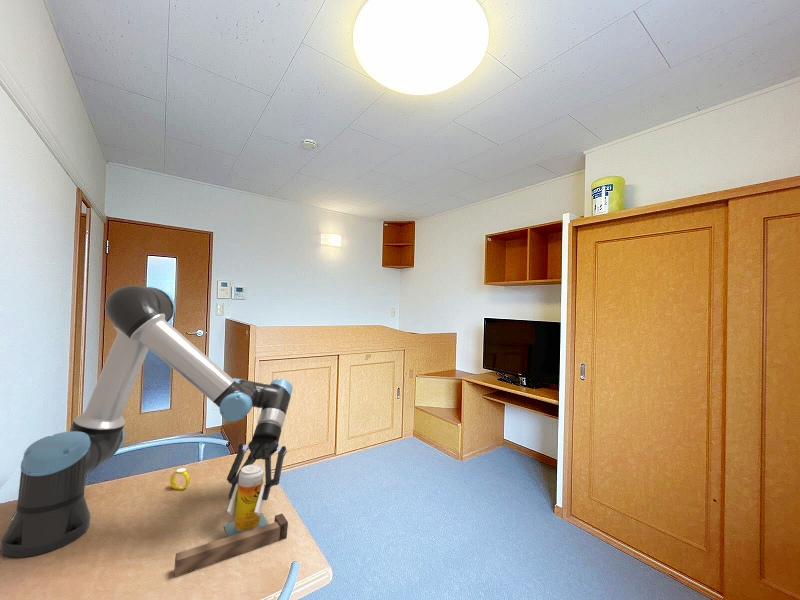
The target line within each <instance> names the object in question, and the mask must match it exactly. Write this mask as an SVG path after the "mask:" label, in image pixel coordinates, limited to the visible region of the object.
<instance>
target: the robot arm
mask: <svg viewBox="0 0 800 600" xmlns="http://www.w3.org/2000/svg"><path fill="white" fill-rule="evenodd" d="M104 311H105V314H106V316H107V318H108V319H109V321H111V323H112V324H113V328H114V329H115V331H116V333H117V334H116V336H115V338H114V340H113V344H112V345H111V348H110V350H109V353H108V355H107V357H106V360H105V362H104V365H103V367H102V370H101V372H100V375H99V377H98V379H97V381H96V384H95V387H94V389H93V391H92V394H91V396H90V398H89V401H88V403H87V405H86V408H85V410H84V412H82V413H81V414H79V415H76V416H75V418H74V419H73V422H72V424H71V427H70V429H69V431H64V432H59V433H54V434H53V435H48V436H45V437H42V438H40V439H37V440H36V441H33V443H31V444H30V445H29V446H28V447H27V448H26V449H25V451H24V453H23V457H22V460H21V462H20V463H21V464H20V476H19V487H18V496H17V506H16V511H15V514H14V516H13V518H12V520H11V522H10V523H9V525H8V528H7V530H6V531H5V533H4V535H3V536H2V540H1V545H0V553H1V554H2V556H5V557H7V558H27V557H33V556H34V557H35V556H38V555H42V554H45V553H48V552H51V551H55V550H56V549H60V548H62V547H64V546H67V545H69V544H70V543H73V542H74V541H75V540H77V539H79V538H80V537H82V536H83V535H84V534H85V533H86V532H87V531H88V529H89V528H90V525H91V512H90V510H89V506H88V504H87V501H86V499H85V489H86V481H87V475H88V474H89V473H91V472H92V471H94V470H95V469H96V468H98V467H100V466H101V465H102V464H103V463H105V462H106V461H108V460H109V459H111V458H112V457H113V456H115V454H116V453H117V452H118V451H119V450H120V448H121V447H122V446H123V443H124V440H125V437H126V436H125V435H126V434H125V433H126V432H125V429H124V427H125V425H126V420H125V418H124V417H123V415H124V414H123V413H124V411H125V408H126V406H127V404H128V401H129V399H130V397H131V394H132V390H133V389H134V387H135V384H136V381H137V378H138V376H139V373H140V371H141V369H142V367H143V364H144V361H145V359H146V356H147V354H148V352H149V350H150V351H151V352H153V353H154V354H155V355H156V356H157V357H159V358H160V359H161V360H162V361H164V362H165V363H166V364H167V365H168V366H169V367H170V368H172V369H173V370H174V371H176V373H178V374H179V375H180V376H181V377H183V378H184V379H185V380H186V381H187V382H188V383H190V384H191V385H192V386H193V387H195V389H197V390H198V391H200V393H202V395H204V396H205V397H207V399H209V400H210V401H211V402H212V403H213V404H215V405H216V406H217V407H218V408H219V414H220V415H221V417H222V419H224V420H226V421H228V422H238V421H240V420H242V419H243V418H245V417H246V416H247V415H248V414H249V413H250V412H251V410H252V408H258V409H261V412H260V414H259V417H258V420H257V425H256V426H255V429H254V432H253V435H252V439H251V440H250V441H249V442H248V444H243V443H241V444H238V447H237V454H236V456H235V458H234V461H233V462H232V466H231V467H230V469H229V472H228V475H227V476H226V480H227V482H228V484H230V485H231V487H230V490H229V493H228V499H229V500H230V501H229V504H228V506H227V507H228V508H227V514H229V515H232V516H233V514H234V512H235V510H236V504H237V492H238V481H239V473H240V471H241V469H242V468H243V467H244V466H247V465H251V464H255V462H256V460H263V461H264V467H265V468H264V474H265V481H264V483H265V484H263V485H262V487H261V490H260V494H259V497H258V501H257V505H256V508H255V512H254V513H255V514H256V515H258V516H259V515H260V514H261V511H262V507H263V505H264V504H263V503H264V501H267V500H268V499H269V495H270V491H271V488H272V487H274V486H278V485H279V484H280V479H281V475H282V467H283V463H284V458H285V456H286V454H287V451H288V449H287V447H286V445H283V446H281V445H279V441H280V438H281V434H282V429H283V427H284V422H285V419H286V415H287V412H288V407H289V406H290V405H289V404H290V401H291V397H292V392H293V386H292V385H293V384H292V383H291V382H290V381H288V380H286V379H284V378H280V379H278V378H276V379H273V380H272V381H271V382H270V383H269V384H268V383H267V384H266V383H265V384H264V383H262V382H257V381H252V380H247V379H244V378H234V377H231V376H230V375H229V374H228V373H227V372H225V371H224V370H223V369H222V368H221V367H220V366H219V365H217V364H216V363H215V362H214V361H213V360H211V358H209V356H207V355H206V354H205V353H203V352H202V351H201V350H200V349H199V348H198V347H197V346H195V345H194V344H193V343H192V341H190V340H188V338H186V337H185V336H184V335H183V334H182V333H180V331H178V330H177V329H176V327H175V328H174V326H172V325H171V323H169V321H170V320H171V319H172V318H173V317H174V316H175V313H176V303H175V300H174V298H173V297H172V296H171V295H170V294H169V293H168V292H166V291H165V290H162V289H159V288H157V287H151V286H141V285H131V284H130V285H125V286H120V287H119V288H117V289H115V290H113V291H112V292H111V293H110V294H109V295H108V297H107V299H106V301H105V305H104ZM248 450H249V451H250V452H249V454H248V455H247V458H246V460H245V462H244V463H243V462H242V461H243V460H244V456H245V454H246V453H247V452H248ZM275 453H277V459H276V464H275V467H274V474H273V479H272V456H273V455H274V454H275ZM242 463H243V465H242V466H241V464H242ZM240 467H241V468H240Z"/></svg>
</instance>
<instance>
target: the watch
mask: <svg viewBox="0 0 800 600" xmlns="http://www.w3.org/2000/svg"><path fill="white" fill-rule="evenodd" d="M176 475H183V476H184V478H185V485H184V486H180V485H179V486H178V485H177V484H176V481H175V476H176ZM169 480H170V481H169V482H170V486H171V487H172V488H173V489H174V490H180V491H183V490H185V489H186V488H187V487H188V486H189V485H190V483H191V476H190V474H189V472H187V468H186V467H180V468H178V469H176V470H175V471H174V472H173V473H172V474H171V475H170V478H169Z"/></svg>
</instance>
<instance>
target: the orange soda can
mask: <svg viewBox="0 0 800 600" xmlns="http://www.w3.org/2000/svg"><path fill="white" fill-rule="evenodd" d="M241 468H242V467H241ZM241 468H240V469H241ZM239 471H240V470H239ZM264 474H265V470H264V469H263V466H262V465H260V464H255V463H253V464H251V465H247V466H244V467H243V468H242V469H241V471H240V473H239V481H238V492H237V503H236V506H235V514H234V515H235V517H234V518H235V519H234V522H235V528H236V529H237V530H238V531H240V532H246V531H249V530H252V529H255V528H256V527H257V525H258V524H259V522H260V515H259V516H258V515H256V514H255V513H254V512H255V508H256V505H257V501H258V497H259V494H260V490H261V487H262V485H264Z"/></svg>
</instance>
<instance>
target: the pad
mask: <svg viewBox="0 0 800 600" xmlns="http://www.w3.org/2000/svg"><path fill="white" fill-rule="evenodd" d="M268 524H269V523H268V521H267V519H266V518H265V516H264V514H263V513H260V522H259V524H258V525H257V527H256V528H258V527H261V526H265V525H268ZM223 528H224V531H225V533H226V536H227V537H230V536H233V535H236V534H239V533H242V532H240V531H238V530H237V529H236V528H235V521H233V522H231V523H226V524H224V525H223Z"/></svg>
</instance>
